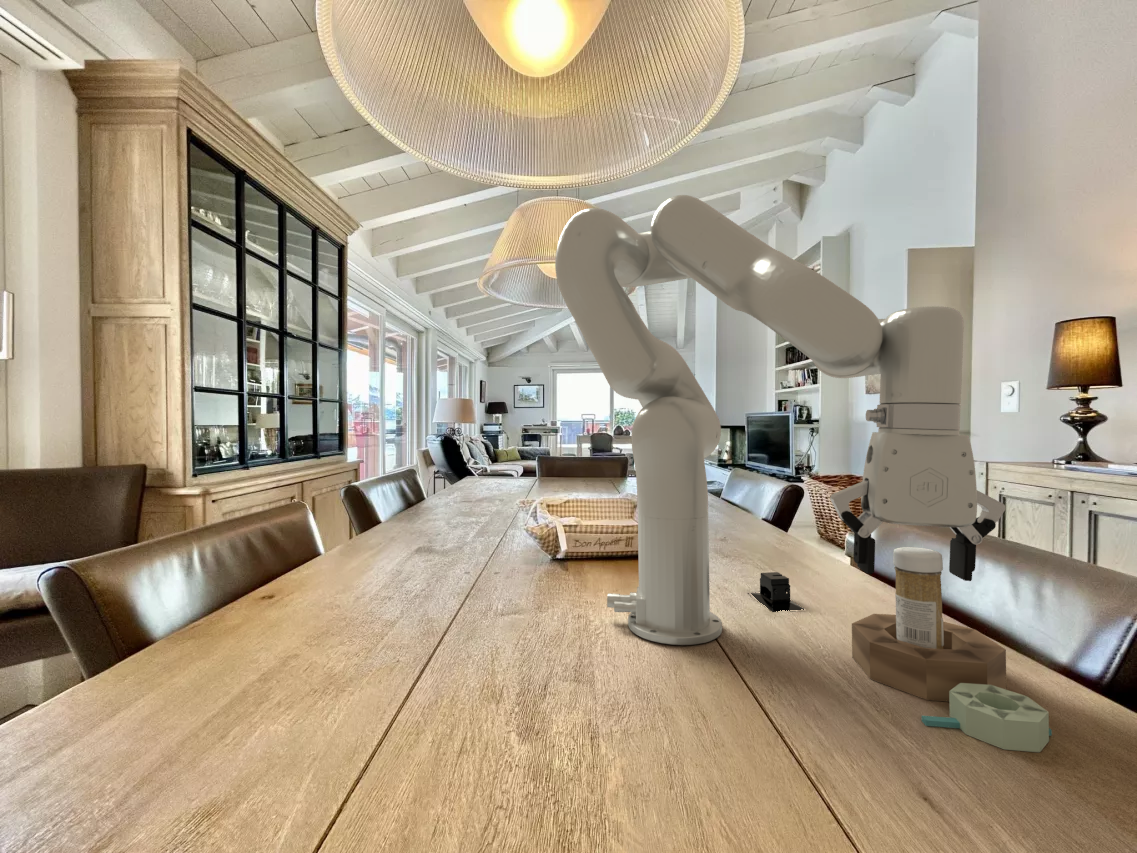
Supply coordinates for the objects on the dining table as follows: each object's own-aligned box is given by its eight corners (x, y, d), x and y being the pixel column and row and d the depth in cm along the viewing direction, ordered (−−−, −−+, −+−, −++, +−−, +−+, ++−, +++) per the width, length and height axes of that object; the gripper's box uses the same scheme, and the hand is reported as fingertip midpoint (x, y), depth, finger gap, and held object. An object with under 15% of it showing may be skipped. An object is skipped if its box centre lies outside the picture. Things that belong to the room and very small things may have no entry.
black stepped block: (818, 617, 76) (818, 586, 76) (770, 620, 75) (770, 588, 75) (777, 591, 88) (776, 564, 88) (735, 593, 88) (735, 566, 88)
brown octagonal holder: (885, 696, 53) (884, 657, 53) (841, 644, 65) (840, 612, 65) (1032, 707, 50) (1031, 666, 50) (956, 650, 63) (956, 617, 63)
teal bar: (925, 725, 47) (925, 720, 47) (921, 720, 48) (921, 715, 48) (1051, 735, 46) (1051, 729, 46) (1045, 730, 46) (1045, 724, 46)
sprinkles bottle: (952, 674, 57) (950, 551, 57) (933, 685, 55) (930, 557, 55) (907, 658, 61) (905, 544, 61) (887, 669, 59) (885, 549, 59)
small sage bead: (978, 747, 44) (978, 717, 44) (939, 707, 51) (938, 681, 51) (1065, 754, 43) (1065, 724, 43) (1014, 712, 49) (1013, 686, 49)
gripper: (845, 419, 56) (840, 577, 56) (1029, 423, 53) (1022, 591, 53) (824, 419, 63) (819, 559, 64) (984, 423, 60) (978, 570, 60)
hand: (912, 573), depth 58 cm, fingers open, 9 cm apart
